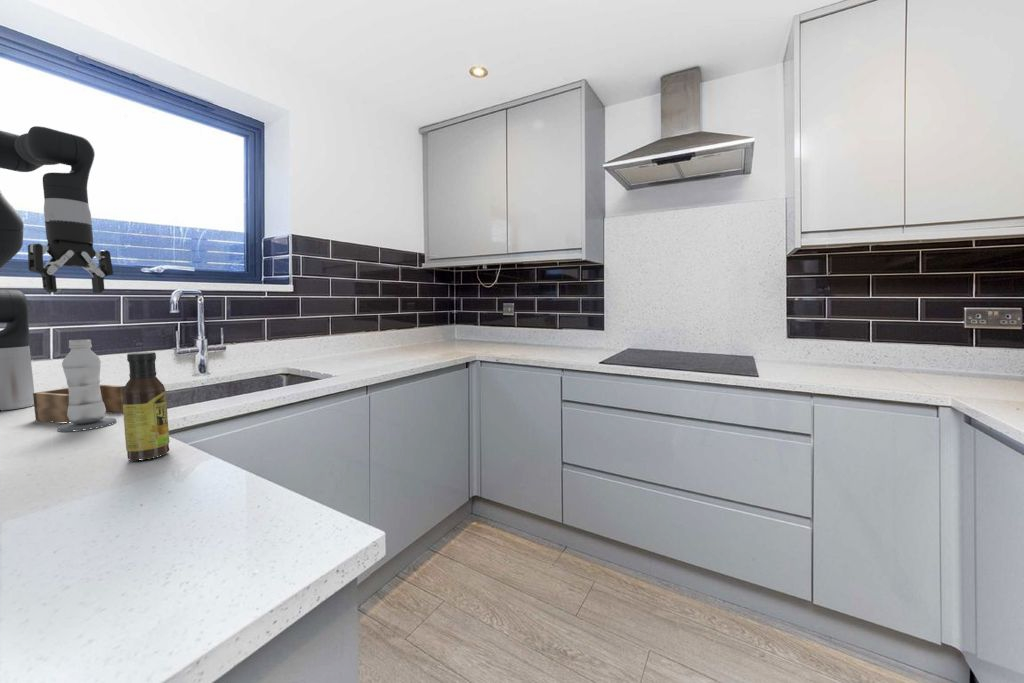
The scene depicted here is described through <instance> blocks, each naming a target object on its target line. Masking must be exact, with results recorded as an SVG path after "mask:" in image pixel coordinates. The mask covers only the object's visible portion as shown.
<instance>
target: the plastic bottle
mask: <svg viewBox="0 0 1024 683" xmlns="http://www.w3.org/2000/svg"><path fill="white" fill-rule="evenodd" d="M92 347H93V346H92V340H91V339H70V340H68V349H70V351H69V353H67V354H66V355H65V357H64V358H63V359H62V363H61V366H62V368H63V373H64V376H65V379H66V385H67V386H68V387H67V388H68V390H69V406H68V411H67V416H68V419H69V421H70V422H71V423H73V424H89V423H93V422H96V421H99V420H102V419H103V418H106V413H107V411H106V408H105V405H104V402H103V400H102V395H101V391H100V385H101V384H100V382H101V381H100V380H101V379H100V375H101V363H102V362H101V359H100V356H98V354H96V353H95V352H94V351H93V350H92Z"/></svg>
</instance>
